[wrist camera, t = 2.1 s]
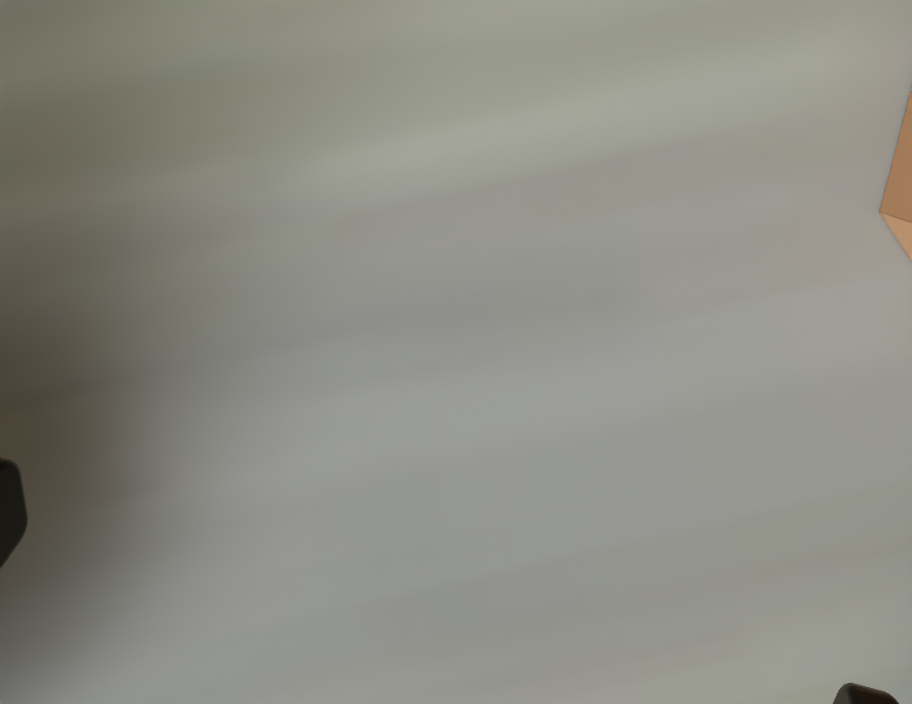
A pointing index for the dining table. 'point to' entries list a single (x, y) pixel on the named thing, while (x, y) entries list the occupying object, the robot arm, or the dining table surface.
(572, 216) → the dining table surface
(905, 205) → the terracotta cup
